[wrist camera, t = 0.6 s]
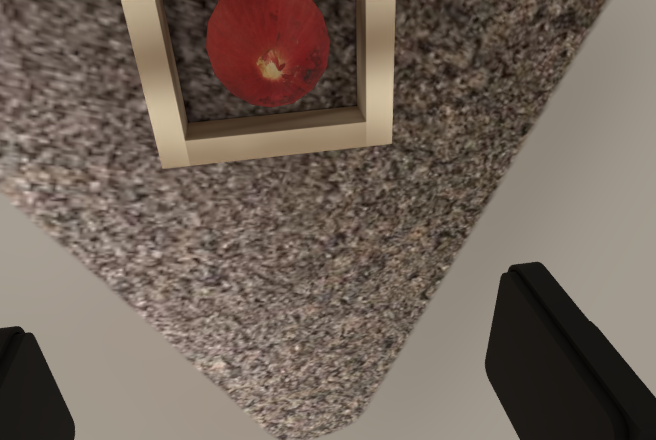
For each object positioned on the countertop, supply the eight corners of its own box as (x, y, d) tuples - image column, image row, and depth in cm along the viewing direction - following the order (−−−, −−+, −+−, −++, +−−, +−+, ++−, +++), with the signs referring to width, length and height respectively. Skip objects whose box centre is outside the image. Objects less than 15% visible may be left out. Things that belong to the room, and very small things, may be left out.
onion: (338, 6, 28) (371, 46, 22) (285, 96, 31) (300, 158, 24) (240, -57, 26) (243, -35, 19) (190, 46, 28) (179, 98, 22)
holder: (105, -110, 24) (94, -109, 22) (384, -125, 25) (398, -125, 23) (167, 149, 31) (162, 168, 29) (381, 126, 32) (391, 143, 30)
